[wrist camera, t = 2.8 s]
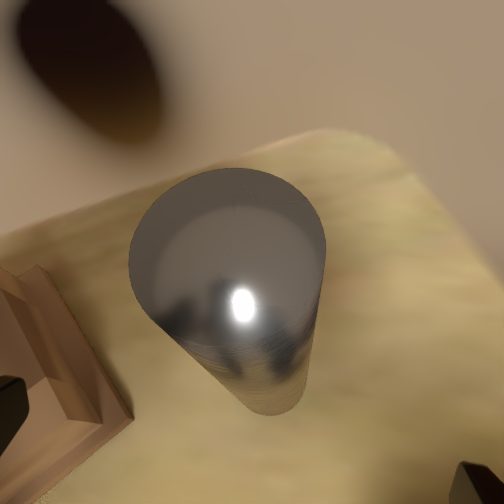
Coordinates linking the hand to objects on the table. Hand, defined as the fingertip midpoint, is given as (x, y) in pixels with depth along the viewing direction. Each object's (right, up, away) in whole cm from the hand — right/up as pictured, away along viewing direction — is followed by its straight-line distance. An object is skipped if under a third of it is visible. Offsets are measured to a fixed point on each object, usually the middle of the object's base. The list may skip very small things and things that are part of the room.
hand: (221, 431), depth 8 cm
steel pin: (+1, -2, +10) cm, 11 cm away
